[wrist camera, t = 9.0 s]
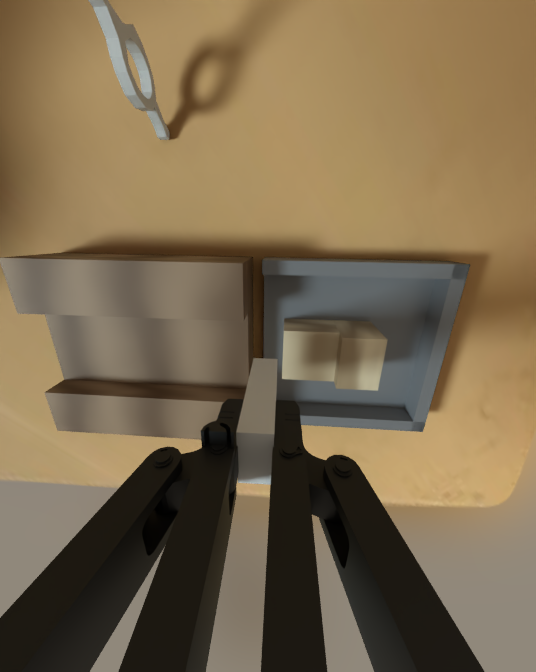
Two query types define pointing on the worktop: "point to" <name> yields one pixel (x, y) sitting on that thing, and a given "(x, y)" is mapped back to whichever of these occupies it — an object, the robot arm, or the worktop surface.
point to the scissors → (117, 42)
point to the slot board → (141, 337)
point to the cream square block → (309, 349)
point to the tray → (385, 314)
